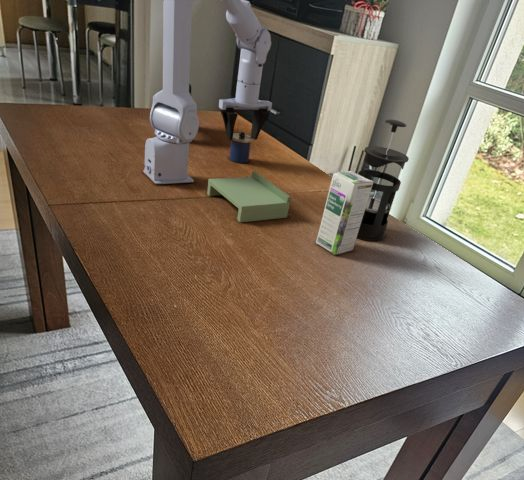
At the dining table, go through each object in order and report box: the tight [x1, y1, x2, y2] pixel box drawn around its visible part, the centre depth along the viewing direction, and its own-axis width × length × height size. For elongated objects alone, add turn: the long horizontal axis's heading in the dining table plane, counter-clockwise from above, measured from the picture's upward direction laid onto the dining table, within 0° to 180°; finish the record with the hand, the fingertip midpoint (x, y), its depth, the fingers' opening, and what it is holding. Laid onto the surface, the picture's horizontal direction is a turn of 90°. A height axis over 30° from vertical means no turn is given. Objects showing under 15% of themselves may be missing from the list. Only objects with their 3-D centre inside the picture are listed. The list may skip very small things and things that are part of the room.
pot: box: [228, 131, 254, 164], centre depth 134 cm, size 6×6×7 cm
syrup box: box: [315, 170, 374, 256], centre depth 98 cm, size 6×6×14 cm
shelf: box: [206, 170, 292, 223], centre depth 111 cm, size 12×15×5 cm
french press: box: [356, 118, 410, 242], centre depth 105 cm, size 12×9×23 cm
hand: (241, 138), depth 133 cm, fingers open, 7 cm apart
